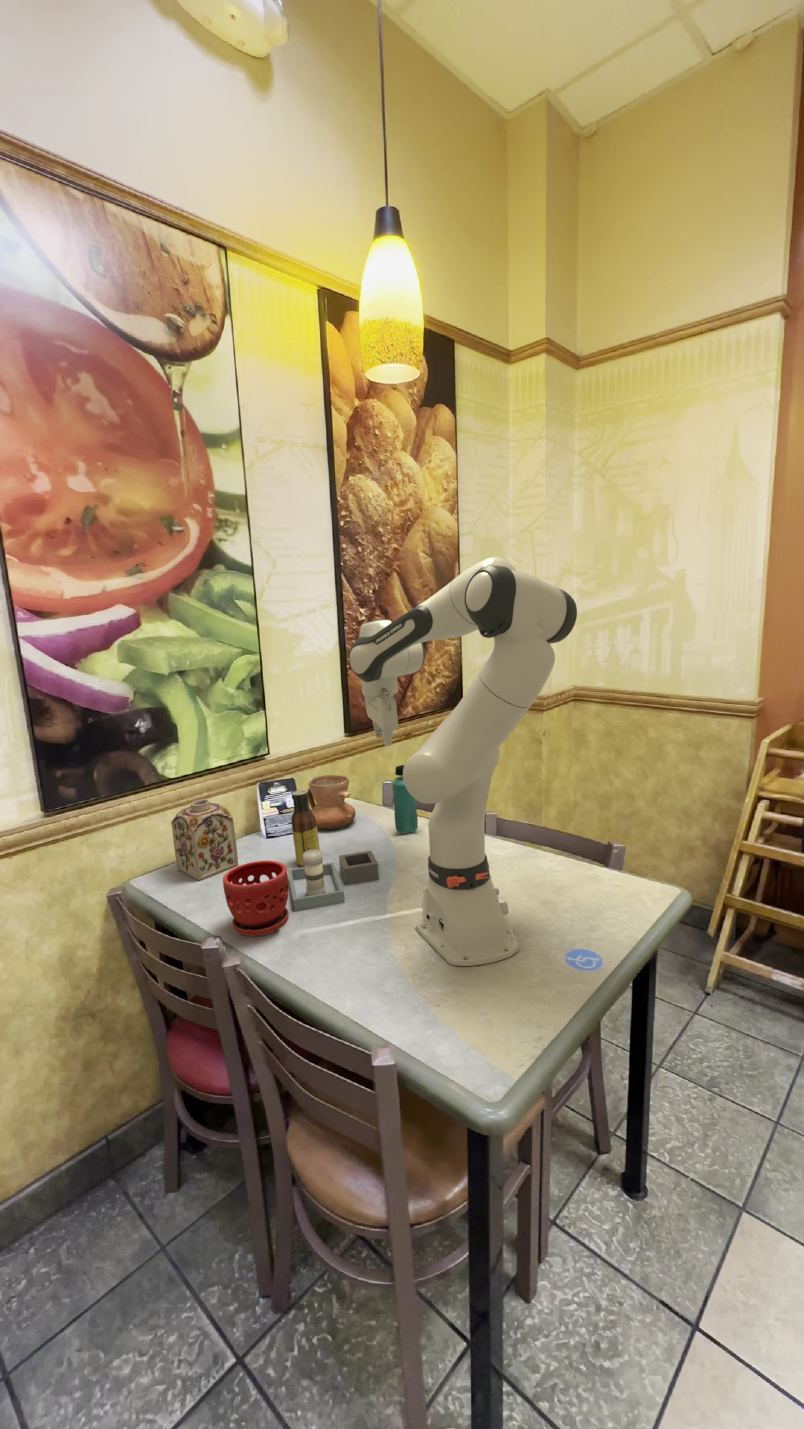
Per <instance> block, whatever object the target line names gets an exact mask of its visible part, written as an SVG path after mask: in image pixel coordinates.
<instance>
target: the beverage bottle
mask: <svg viewBox="0 0 804 1429" xmlns="http://www.w3.org/2000/svg"><path fill="white" fill-rule="evenodd" d="M404 765H405V764H403V765H397V766H396V767H395V771H394V772H395V773H394V774H395V775H396V776H397V777H396V778H395V779H394V780H393V781H392V792H393V810H394V811H393V812H394V816H393V817H394V826H395V830H396V832H397V833H400V834H410V833H413V832H416V831H417V830H418V827H419V823H418V822H419V821H418V820H419V819H418V812H417V811H418V810H417V800H416V799H415V798H413V797H412V796H411V795H410V793H409V792H408V791H407V789H406V787H405V784H404V781H403V769H404Z"/></svg>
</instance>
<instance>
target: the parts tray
mask: <svg viewBox="0 0 804 1429" xmlns="http://www.w3.org/2000/svg"><path fill="white" fill-rule="evenodd" d="M322 865H323V874H324V876H327V875H328V876H329V875H331V876H332V880H333V882H334V886H335V888H336V890H335V891H327V892H326V893H322V894H316V895H311V896H307V895H306V896H299V897H297V893H296V887H295V882H294V881H297V880H302V879H306V877H305V867H297V868H296V867H295V868H290V869H287V874H288V884H289V887H290V893H291V894H290V895H291V899H292V904H293V911H294V912H299V911H301V910H303V911H304V910H308V909H309V910H310V909H314V908H315V909H316V908H320V907H321V908H322V907H324V906H331V905H337V904H343V903H346V902H345V900H346V899H345V891H344V888H343V885H342V883H341V879H340V877H339V875H338V871H337V869H336V866H335V864H334V862H327V863H322Z"/></svg>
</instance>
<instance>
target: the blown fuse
mask: <svg viewBox="0 0 804 1429" xmlns="http://www.w3.org/2000/svg"><path fill="white" fill-rule="evenodd" d="M303 861H304V866H305V877H306V878H305V883H306V884H305V885H306V888H305V890H306V896H311V895H316V894H322V893H327V892H326V883H325V878H324V876H325V875H324V874H323V865H322V864H323V853H322V851H321V849H320V850H316V849H313V850H308V851H306V852H304V853H303Z"/></svg>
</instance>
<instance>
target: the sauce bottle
mask: <svg viewBox="0 0 804 1429" xmlns="http://www.w3.org/2000/svg"><path fill="white" fill-rule="evenodd" d="M291 798H292V801H293V810H294V811H293V813H292V814H291V818H290V820H291V828H292V829H291V831H292V838H293V846H294V854H295V859H296V860H295V862H296V863H297V867H298V868H301V867H305V866H304V861H303V853H304V852H306V851H308V850H313V849H316V850H320V851H321V848H320V841H319V834H318V828H317V824H316V820H315V817H314V815H313V814H312V812H311V807H310V804H309V802H308V791H307V790H305V789H299V790H295V791H293V792H292V793H291Z"/></svg>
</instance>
